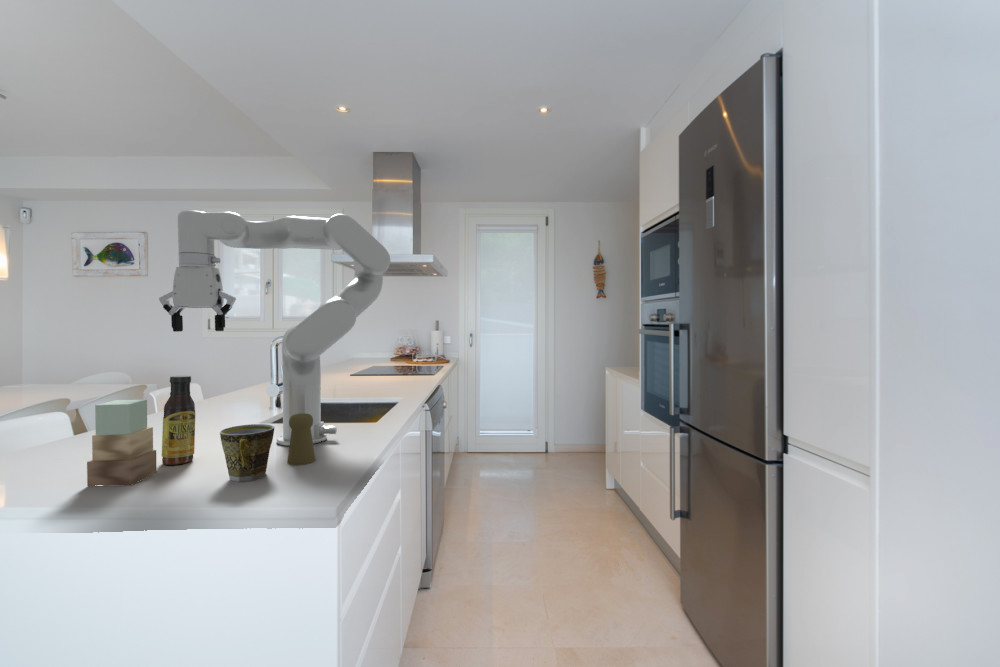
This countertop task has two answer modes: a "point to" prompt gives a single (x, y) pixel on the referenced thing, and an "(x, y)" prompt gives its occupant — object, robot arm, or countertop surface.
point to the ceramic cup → (247, 450)
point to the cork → (301, 440)
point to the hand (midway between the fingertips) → (198, 331)
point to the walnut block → (121, 470)
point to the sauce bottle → (178, 423)
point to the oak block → (122, 445)
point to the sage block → (121, 417)
